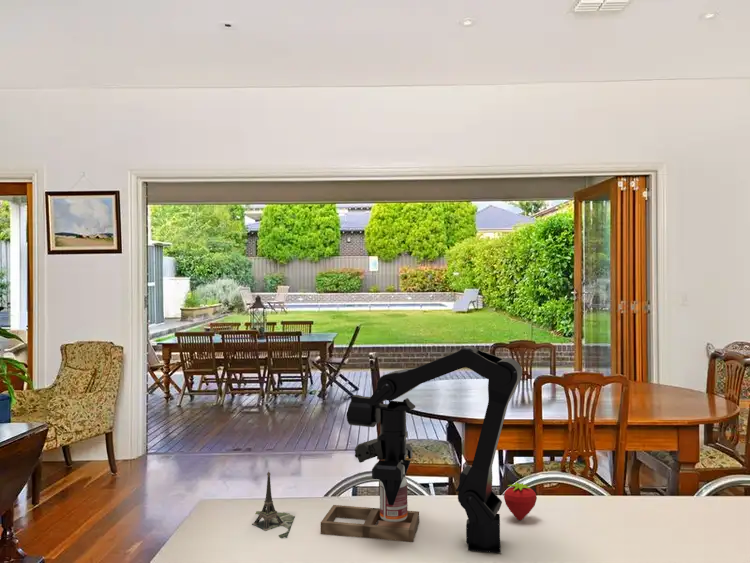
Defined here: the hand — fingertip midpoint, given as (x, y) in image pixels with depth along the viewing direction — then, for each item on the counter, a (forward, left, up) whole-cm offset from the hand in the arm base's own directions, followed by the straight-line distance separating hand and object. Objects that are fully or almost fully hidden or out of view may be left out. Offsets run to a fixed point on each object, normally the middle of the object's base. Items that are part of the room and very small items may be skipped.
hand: (393, 499), depth 128 cm
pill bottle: (0, 0, -4) cm, 4 cm away
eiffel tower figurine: (+28, +2, -8) cm, 29 cm away
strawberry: (-28, -11, -7) cm, 31 cm away
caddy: (+5, 0, -7) cm, 8 cm away
